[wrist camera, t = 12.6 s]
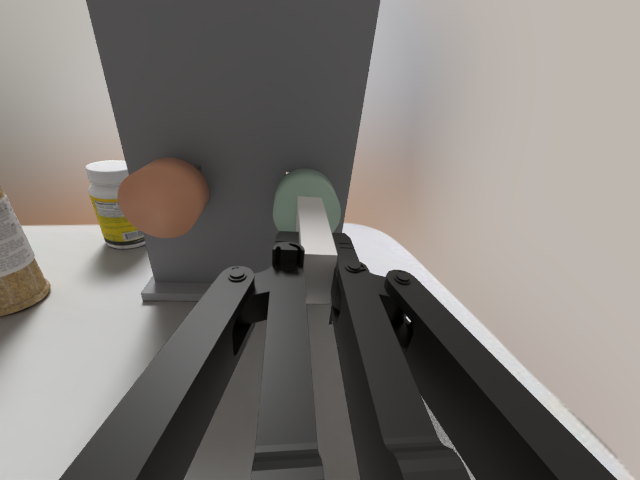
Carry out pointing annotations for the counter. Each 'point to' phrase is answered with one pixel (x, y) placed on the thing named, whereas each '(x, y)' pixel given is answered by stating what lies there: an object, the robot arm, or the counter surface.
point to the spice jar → (17, 265)
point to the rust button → (164, 197)
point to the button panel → (234, 113)
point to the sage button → (308, 186)
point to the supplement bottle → (112, 204)
